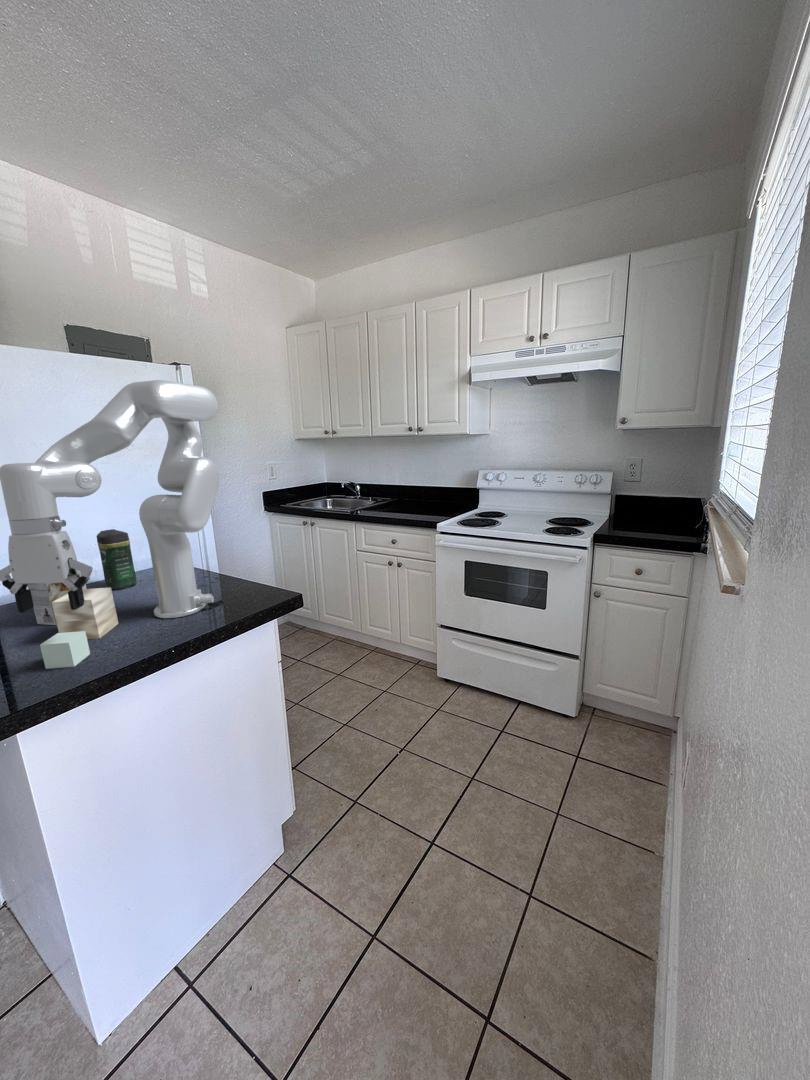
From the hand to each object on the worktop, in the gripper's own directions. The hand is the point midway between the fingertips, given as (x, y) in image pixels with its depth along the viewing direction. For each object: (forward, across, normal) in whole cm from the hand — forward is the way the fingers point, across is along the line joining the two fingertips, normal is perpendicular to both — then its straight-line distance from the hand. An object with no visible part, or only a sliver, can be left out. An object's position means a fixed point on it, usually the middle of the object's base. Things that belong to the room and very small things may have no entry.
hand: (52, 609), depth 88 cm
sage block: (+12, 0, -1) cm, 12 cm away
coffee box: (+12, +16, -27) cm, 34 cm away
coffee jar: (+11, +14, -53) cm, 56 cm away
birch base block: (+12, +3, -16) cm, 20 cm away
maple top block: (+7, +4, -16) cm, 18 cm away
